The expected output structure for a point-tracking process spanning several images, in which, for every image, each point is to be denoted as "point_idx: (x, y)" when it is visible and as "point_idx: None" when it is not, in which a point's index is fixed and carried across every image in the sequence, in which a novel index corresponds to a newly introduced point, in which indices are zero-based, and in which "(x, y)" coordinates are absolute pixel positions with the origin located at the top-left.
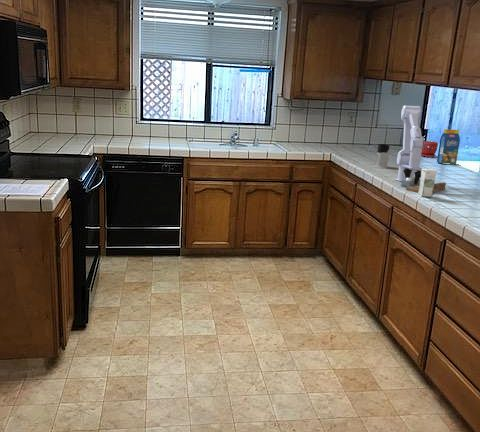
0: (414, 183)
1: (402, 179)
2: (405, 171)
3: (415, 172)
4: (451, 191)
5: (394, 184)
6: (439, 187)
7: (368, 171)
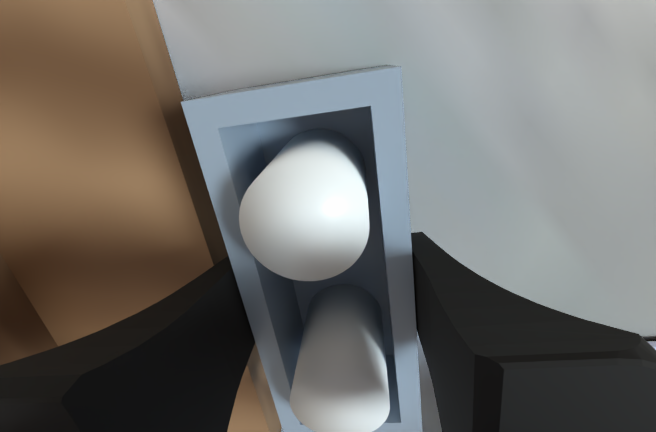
0: None
1: (401, 88)
2: (516, 339)
3: (26, 384)
4: None
5: (562, 74)
6: None
7: None
